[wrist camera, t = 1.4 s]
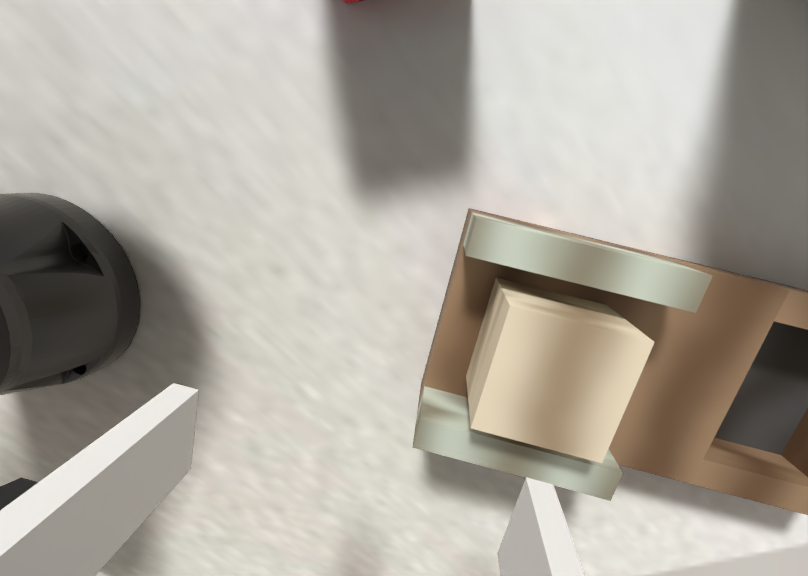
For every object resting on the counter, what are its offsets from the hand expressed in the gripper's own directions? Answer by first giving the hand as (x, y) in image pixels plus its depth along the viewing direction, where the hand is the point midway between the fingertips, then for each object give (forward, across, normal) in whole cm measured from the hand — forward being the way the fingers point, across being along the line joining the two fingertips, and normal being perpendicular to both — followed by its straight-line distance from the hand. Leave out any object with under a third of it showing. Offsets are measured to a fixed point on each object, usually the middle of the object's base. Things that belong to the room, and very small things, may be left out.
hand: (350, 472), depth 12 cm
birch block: (+15, +8, 0) cm, 18 cm away
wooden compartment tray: (+19, +17, 0) cm, 26 cm away
